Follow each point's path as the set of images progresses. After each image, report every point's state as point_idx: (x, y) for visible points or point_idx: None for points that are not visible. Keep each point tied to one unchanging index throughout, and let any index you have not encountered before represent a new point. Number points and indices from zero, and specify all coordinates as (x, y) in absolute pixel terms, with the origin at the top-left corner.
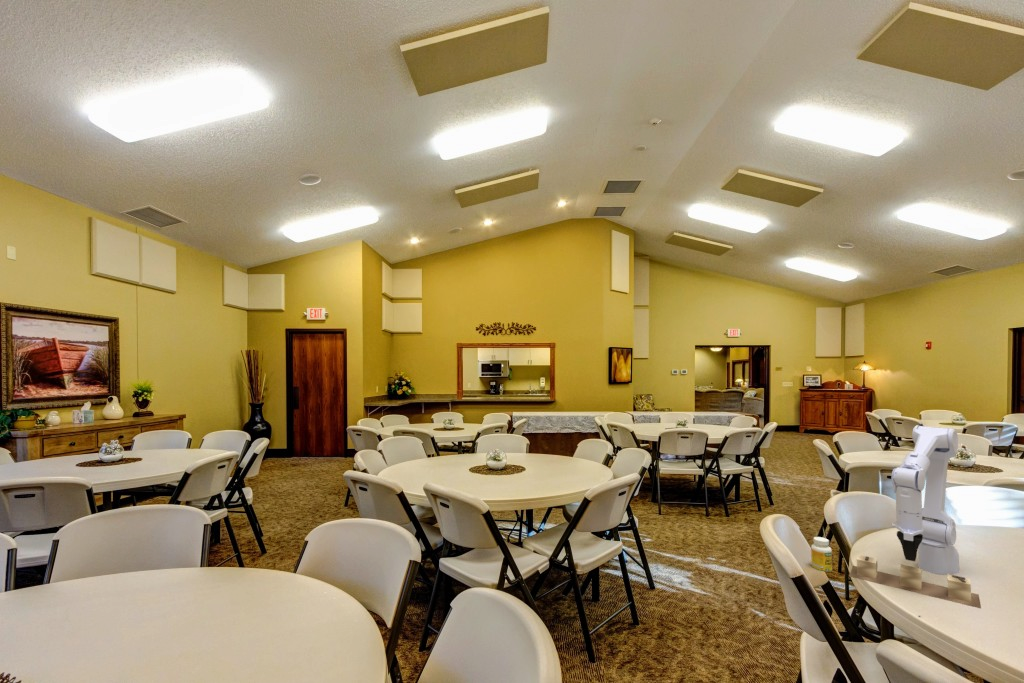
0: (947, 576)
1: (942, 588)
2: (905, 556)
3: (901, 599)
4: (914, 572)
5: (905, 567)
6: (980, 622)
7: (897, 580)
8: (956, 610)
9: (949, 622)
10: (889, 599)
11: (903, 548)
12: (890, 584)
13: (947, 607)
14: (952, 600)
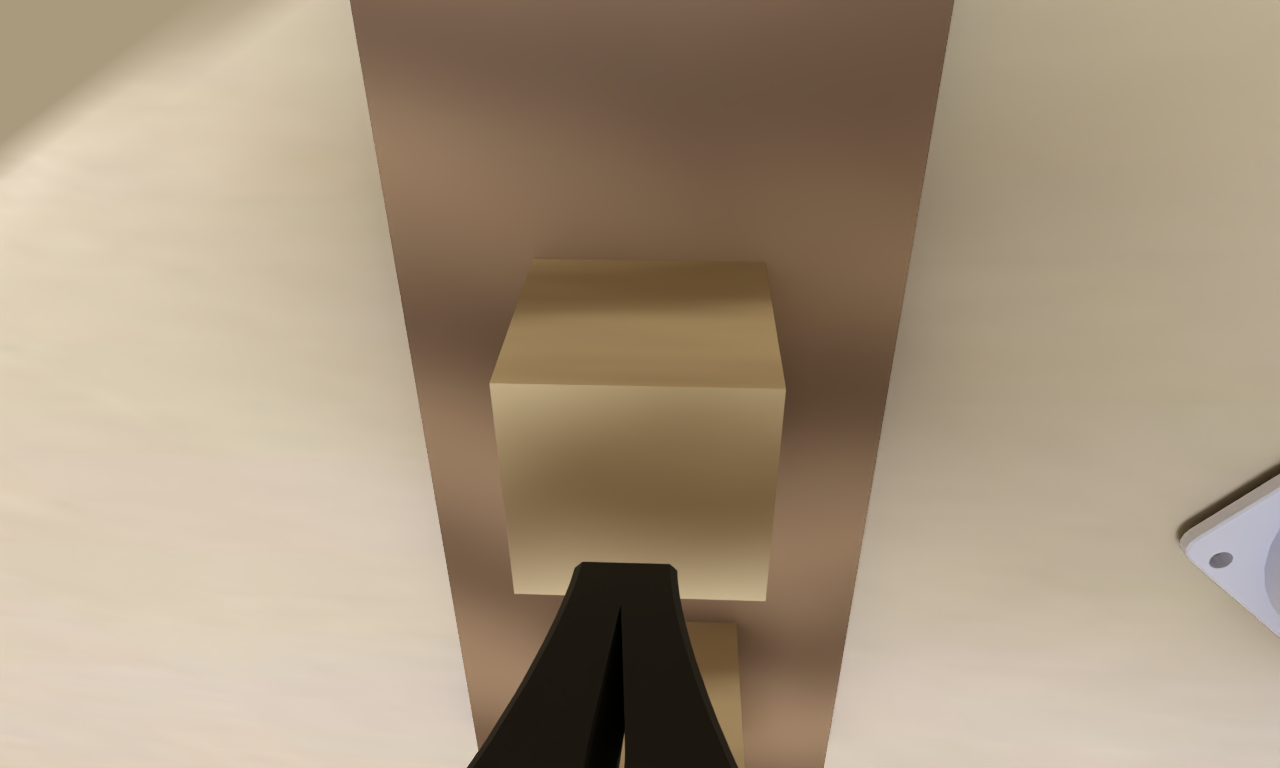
0: (741, 761)
1: (775, 592)
2: (566, 607)
3: (183, 255)
4: (512, 533)
5: (638, 445)
6: (266, 713)
7: (700, 221)
8: (368, 620)
9: (32, 572)
10: (40, 141)
11: (482, 746)
12: (448, 150)
13: (376, 575)
14: (482, 637)
